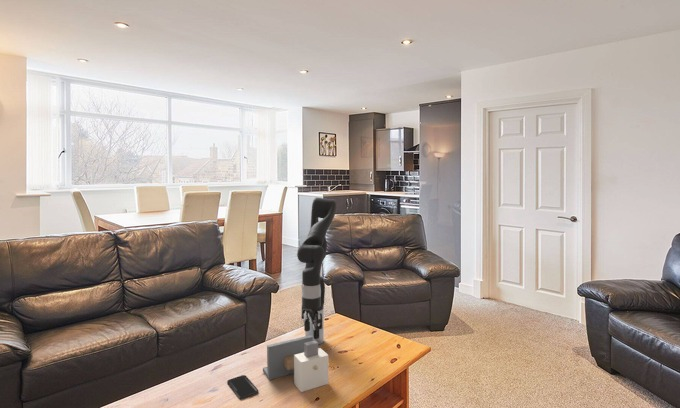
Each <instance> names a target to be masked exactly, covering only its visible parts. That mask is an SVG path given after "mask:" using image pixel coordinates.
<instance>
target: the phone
mask: <svg viewBox="0 0 680 408" xmlns="http://www.w3.org/2000/svg"><path fill="white" fill-rule="evenodd" d="M226 383H227V385H228V386H229V387H230V388H231V390H232V392H233V393H234V394H235V395H236V397H237V398H238V399H239V400H245V399H248V398H250V397H252V396H255V395H258V394H259V389H258V388H257V387H256V386H255V384H254V383H253V382H252V381H251V380H250V379H249V377H248V376H247V375H245V374H241V375H239V376H236V377H233V378H230V379H227V382H226Z"/></svg>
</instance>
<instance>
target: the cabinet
mask: <svg viewBox="0 0 680 408" xmlns="http://www.w3.org/2000/svg"><path fill="white" fill-rule="evenodd" d="M293 382H294V383H293V384H294V385H295V386H296V388H297V389H298V390H299V392H300V393H304V392H307V391H310V390H314V389H317V388H318V387H319V388H320V387H323V386H325V385H329V354H328V353H327V352H325V351H324V350H323V349H322V348H321V347H319V345H318V342H317V341H311V342H307V343H304V352H303V353H299V354H296V355H294V373H293Z"/></svg>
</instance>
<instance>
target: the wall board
mask: <svg viewBox="0 0 680 408" xmlns="http://www.w3.org/2000/svg"><path fill="white" fill-rule="evenodd" d="M311 341H313V337H312V336H311V335H309V336H305V335H304V336H301V337H298V338H297V337H296V338H292V339H287V340H283V341H280V342H274V343H271V344H267V345H266V349H267V350H266V358H267V359H266V360H267V361H266V366H265V367H262V372H263V373H264V375H265V376H266V378H267V379H268V380H269V381H271V380H273V379H274V380H275V379H278V378H281V377H285V376H288V375H292V374H294V355H296V354H299V353H303V352H304V343H307V342H311Z"/></svg>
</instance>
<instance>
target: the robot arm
mask: <svg viewBox="0 0 680 408" xmlns="http://www.w3.org/2000/svg"><path fill="white" fill-rule="evenodd" d="M336 211H337V202H336V200H333V199H329V198H322V197H314V198H313V200H312V203H311V213H310V214H311V215H310V228H309V231H308V234H307V237H306V238H305V239H304V241H303V242H302V243H301V245H300V246H299V248H298V249H297V252H296V253H297V254H296V255H297V259H298V261H299V262H300V263H301V264H302V263H303V264H305V268H304V269H303V270H302V272H301V273H302V275H301V276H302V281H301V319H302V320H303V324H304V325H303V328H304V331H305V333H304V334H305V335H304V337H305V336H309V335H311V336H312V337H313V341H317V342H318V346H319V345H321V344H323V343H324V337H325V336H324V335H325V334H324V329H325V327H324V321H325V320H324V318H325V316H324V310H325V309H324V305H325V294H326V293H325V292H326V284H325V282H326V281H325V279H324V278H323V276H321V270H322V269H321V268H322V265H323V261H324V260H325V258H326V256H327V249H328V242H327V239H326V234H327V232H328V230H329V228H330V226H331V224H332V223H333V220H334V219H335V218H334V217H335V215H336ZM319 219H320V220H319Z"/></svg>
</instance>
